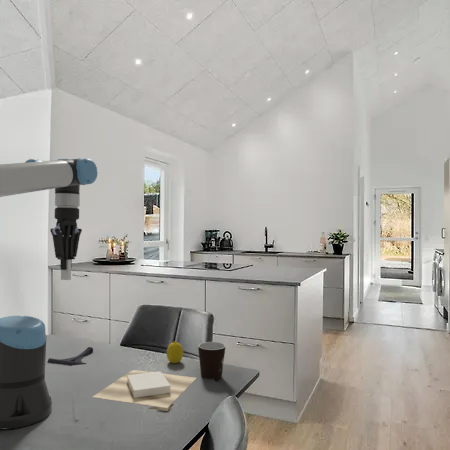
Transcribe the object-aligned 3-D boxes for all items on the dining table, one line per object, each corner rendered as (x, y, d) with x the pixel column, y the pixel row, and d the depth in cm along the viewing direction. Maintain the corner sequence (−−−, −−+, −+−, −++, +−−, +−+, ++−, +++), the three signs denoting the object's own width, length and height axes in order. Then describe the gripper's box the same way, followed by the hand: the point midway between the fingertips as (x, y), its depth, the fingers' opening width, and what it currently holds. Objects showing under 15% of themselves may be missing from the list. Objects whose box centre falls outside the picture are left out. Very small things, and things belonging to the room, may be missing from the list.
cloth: (167, 411, 102) (167, 408, 102) (92, 399, 108) (92, 396, 108) (196, 380, 123) (196, 377, 123) (132, 372, 129) (132, 369, 130)
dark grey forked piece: (108, 355, 148) (108, 348, 148) (83, 368, 134) (83, 360, 134) (75, 351, 152) (75, 344, 152) (47, 364, 138) (47, 356, 138)
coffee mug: (215, 385, 120) (215, 351, 120) (192, 379, 125) (192, 346, 125) (235, 373, 130) (235, 342, 130) (212, 368, 134) (213, 338, 134)
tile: (127, 375, 119) (134, 390, 108) (160, 371, 123) (170, 385, 111) (127, 382, 119) (133, 398, 108) (160, 378, 123) (170, 393, 111)
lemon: (186, 364, 137) (186, 341, 138) (173, 368, 133) (174, 344, 133) (175, 361, 141) (176, 338, 141) (163, 364, 137) (163, 341, 137)
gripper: (70, 208, 139) (68, 276, 138) (43, 206, 126) (42, 281, 126) (89, 208, 137) (87, 277, 136) (63, 206, 124) (62, 282, 124)
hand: (65, 279), depth 131 cm, fingers closed
